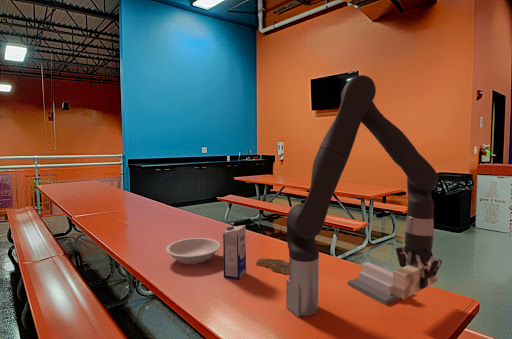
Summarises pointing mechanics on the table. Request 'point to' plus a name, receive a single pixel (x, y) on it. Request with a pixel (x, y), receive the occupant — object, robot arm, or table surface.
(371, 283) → the ridge stand
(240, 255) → the milk carton
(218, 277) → the table surface
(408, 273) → the ash bar
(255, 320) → the table surface
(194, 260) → the soup bowl
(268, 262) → the wooden fragment
